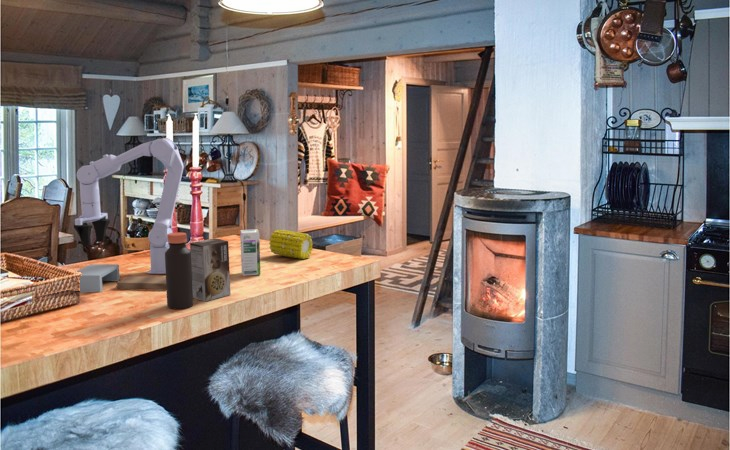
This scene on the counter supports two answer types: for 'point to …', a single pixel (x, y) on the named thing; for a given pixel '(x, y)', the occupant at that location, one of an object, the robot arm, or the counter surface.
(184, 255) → the bottle
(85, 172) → the robot arm
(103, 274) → the shelf
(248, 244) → the syrup box
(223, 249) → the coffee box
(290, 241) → the food
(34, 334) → the counter surface
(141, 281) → the board
